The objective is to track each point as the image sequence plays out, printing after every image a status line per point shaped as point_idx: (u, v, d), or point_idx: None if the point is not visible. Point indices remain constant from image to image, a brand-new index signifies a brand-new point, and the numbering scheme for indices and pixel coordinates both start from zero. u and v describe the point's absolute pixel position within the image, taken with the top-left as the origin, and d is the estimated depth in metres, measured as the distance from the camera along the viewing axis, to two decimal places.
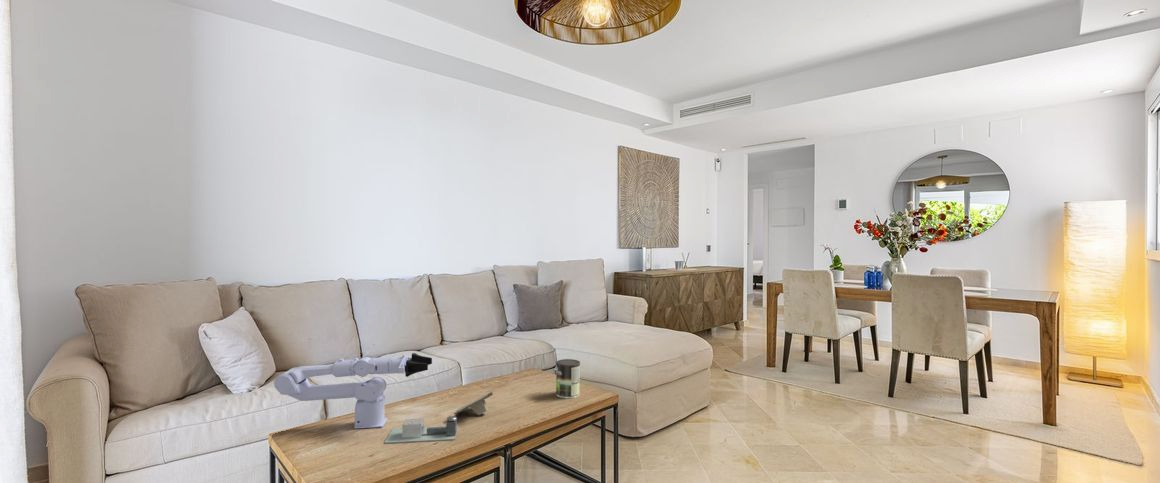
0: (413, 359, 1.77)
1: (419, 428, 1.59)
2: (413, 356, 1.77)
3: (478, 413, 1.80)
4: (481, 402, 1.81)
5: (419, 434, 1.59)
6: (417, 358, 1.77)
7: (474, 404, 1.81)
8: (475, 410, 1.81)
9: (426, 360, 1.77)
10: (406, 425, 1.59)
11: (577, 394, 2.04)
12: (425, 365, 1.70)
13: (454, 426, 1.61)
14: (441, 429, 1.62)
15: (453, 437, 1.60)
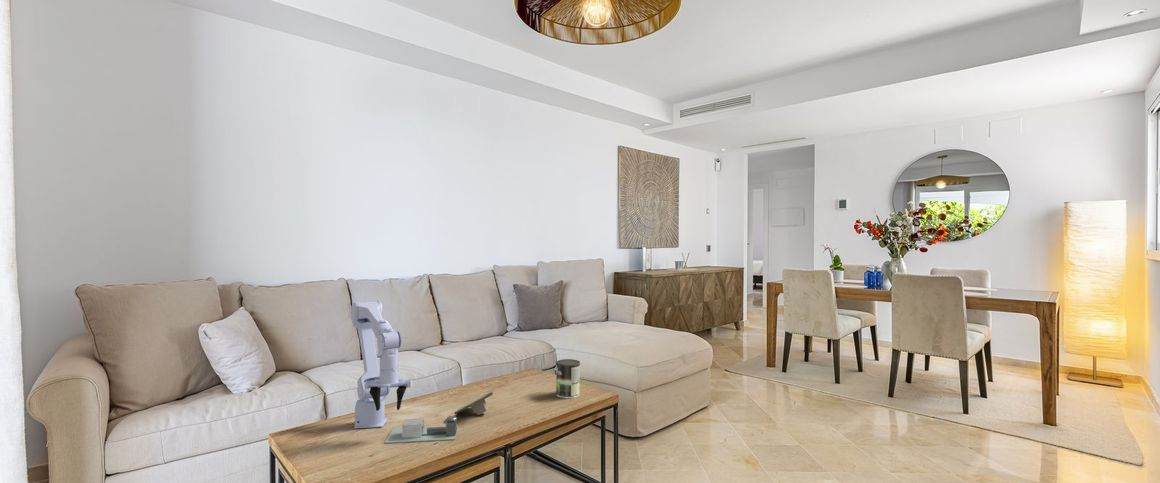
0: None
1: (419, 428, 1.59)
2: None
3: (478, 413, 1.81)
4: (481, 402, 1.81)
5: (419, 434, 1.59)
6: None
7: (474, 404, 1.81)
8: (475, 410, 1.81)
9: None
10: (406, 425, 1.59)
11: (577, 394, 2.04)
12: None
13: (454, 426, 1.61)
14: (441, 429, 1.62)
15: (453, 437, 1.60)
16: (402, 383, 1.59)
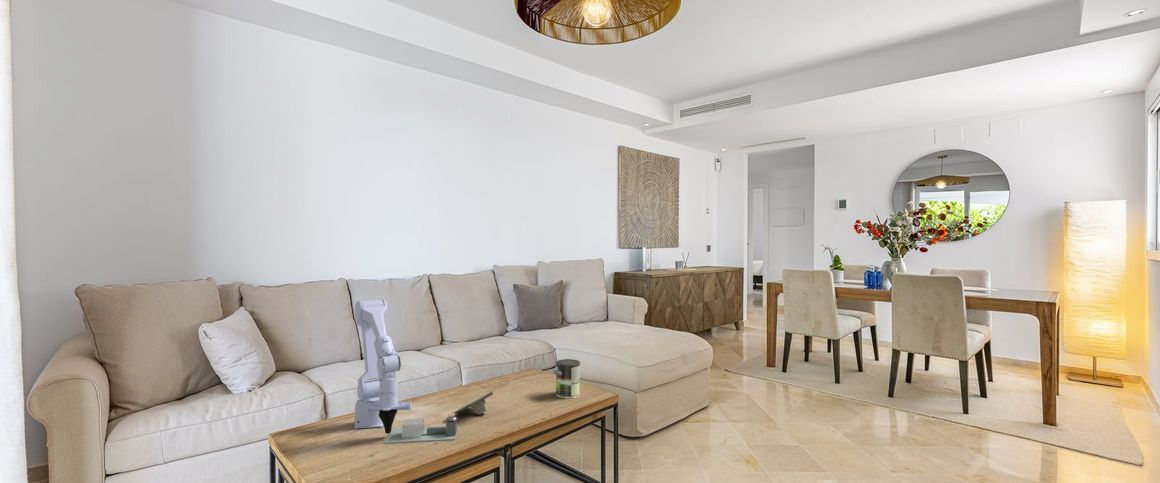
0: None
1: (419, 428, 1.59)
2: None
3: (478, 413, 1.81)
4: (481, 402, 1.81)
5: (419, 434, 1.59)
6: None
7: (474, 404, 1.81)
8: (475, 410, 1.81)
9: None
10: (406, 425, 1.59)
11: (577, 394, 2.04)
12: None
13: (454, 426, 1.61)
14: (441, 429, 1.62)
15: (453, 437, 1.60)
16: (402, 406, 1.59)
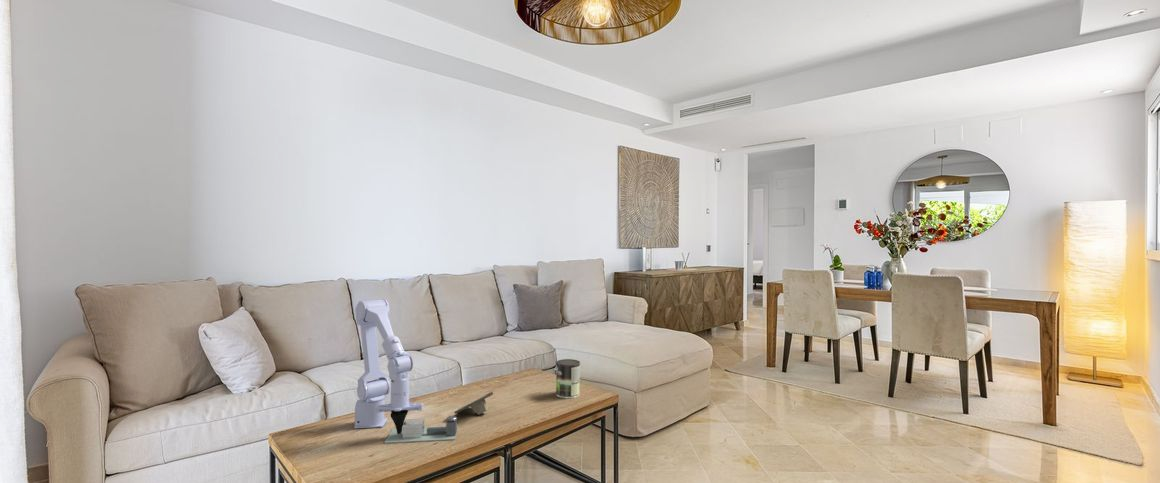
0: None
1: (419, 428, 1.59)
2: None
3: (478, 412, 1.81)
4: (481, 402, 1.81)
5: (419, 434, 1.59)
6: None
7: (474, 403, 1.81)
8: (475, 409, 1.81)
9: None
10: (406, 425, 1.59)
11: (577, 394, 2.04)
12: None
13: (454, 426, 1.61)
14: (441, 429, 1.62)
15: (453, 437, 1.60)
16: (413, 407, 1.60)
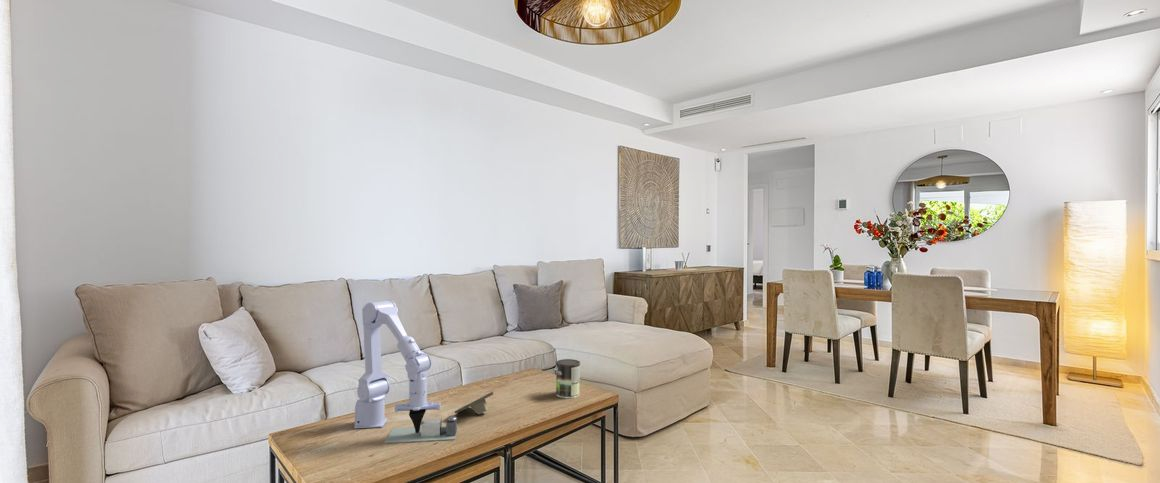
0: None
1: (437, 427, 1.60)
2: None
3: (478, 412, 1.81)
4: (481, 401, 1.81)
5: (437, 433, 1.60)
6: None
7: (474, 403, 1.81)
8: (475, 409, 1.81)
9: None
10: (425, 424, 1.60)
11: (577, 394, 2.04)
12: None
13: (454, 426, 1.61)
14: (441, 429, 1.62)
15: (453, 437, 1.60)
16: (431, 406, 1.61)
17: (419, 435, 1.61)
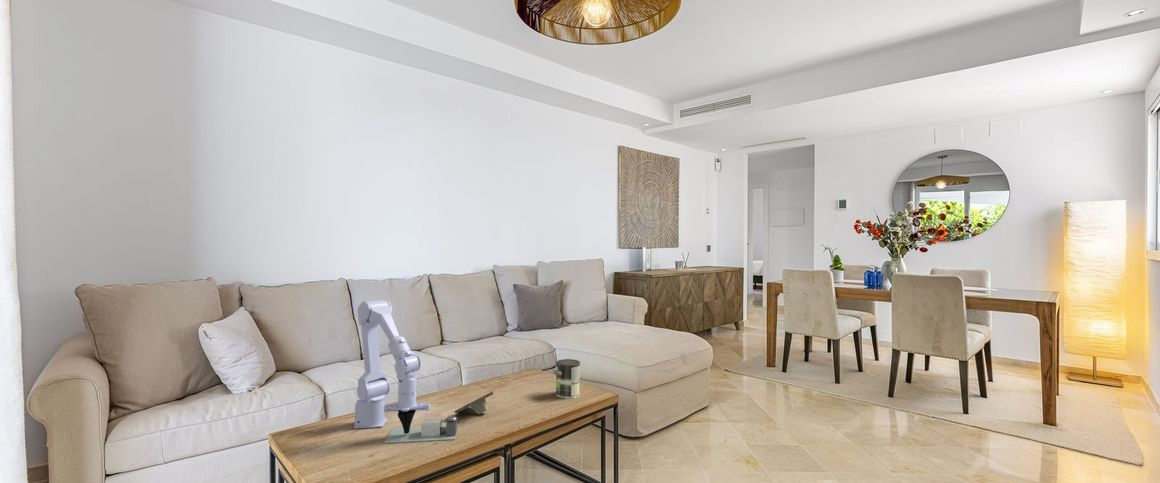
0: None
1: (438, 427, 1.60)
2: None
3: (478, 412, 1.81)
4: (481, 401, 1.82)
5: (438, 433, 1.60)
6: None
7: (474, 403, 1.82)
8: (475, 409, 1.81)
9: None
10: (425, 424, 1.60)
11: (577, 394, 2.04)
12: None
13: (454, 426, 1.61)
14: (441, 429, 1.62)
15: (453, 437, 1.60)
16: (421, 407, 1.60)
17: (419, 435, 1.61)
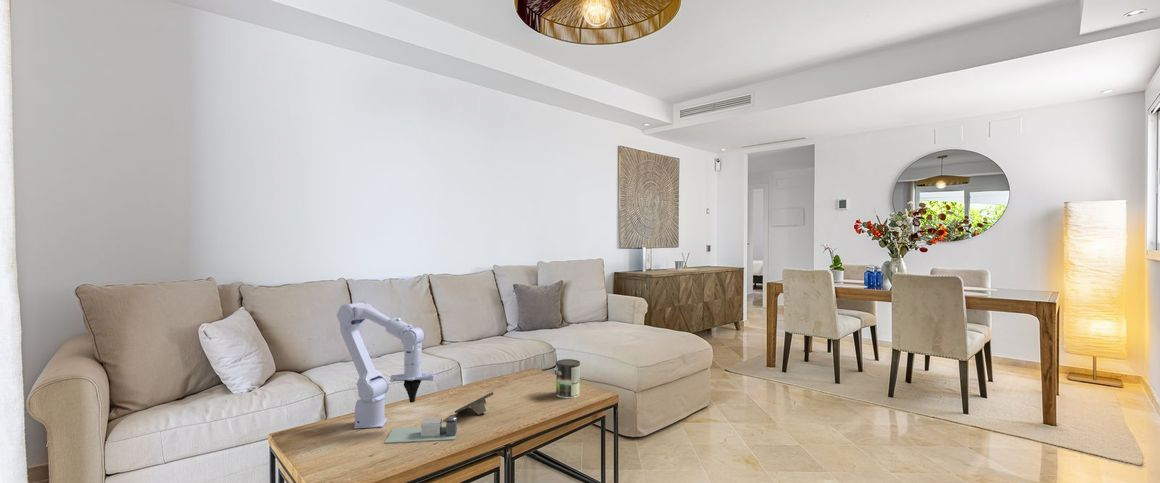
0: None
1: (438, 427, 1.60)
2: None
3: (478, 412, 1.81)
4: (481, 402, 1.82)
5: (438, 433, 1.60)
6: None
7: (474, 403, 1.82)
8: (475, 409, 1.82)
9: None
10: (425, 424, 1.60)
11: (577, 394, 2.04)
12: None
13: (454, 426, 1.61)
14: (441, 429, 1.62)
15: (453, 437, 1.60)
16: (425, 377, 1.67)
17: (419, 435, 1.61)
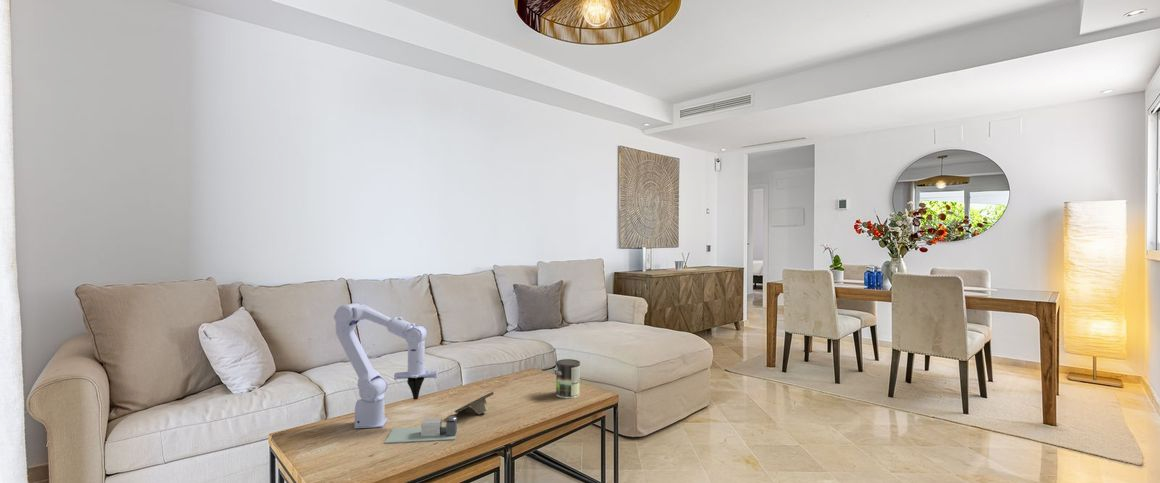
0: None
1: (438, 427, 1.60)
2: None
3: (478, 412, 1.81)
4: (481, 401, 1.82)
5: (438, 433, 1.60)
6: (415, 385, 1.70)
7: (474, 403, 1.82)
8: (475, 409, 1.82)
9: None
10: (425, 424, 1.60)
11: (577, 394, 2.04)
12: None
13: (454, 426, 1.61)
14: (441, 429, 1.62)
15: (453, 437, 1.60)
16: (429, 374, 1.70)
17: (419, 435, 1.61)
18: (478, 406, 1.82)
